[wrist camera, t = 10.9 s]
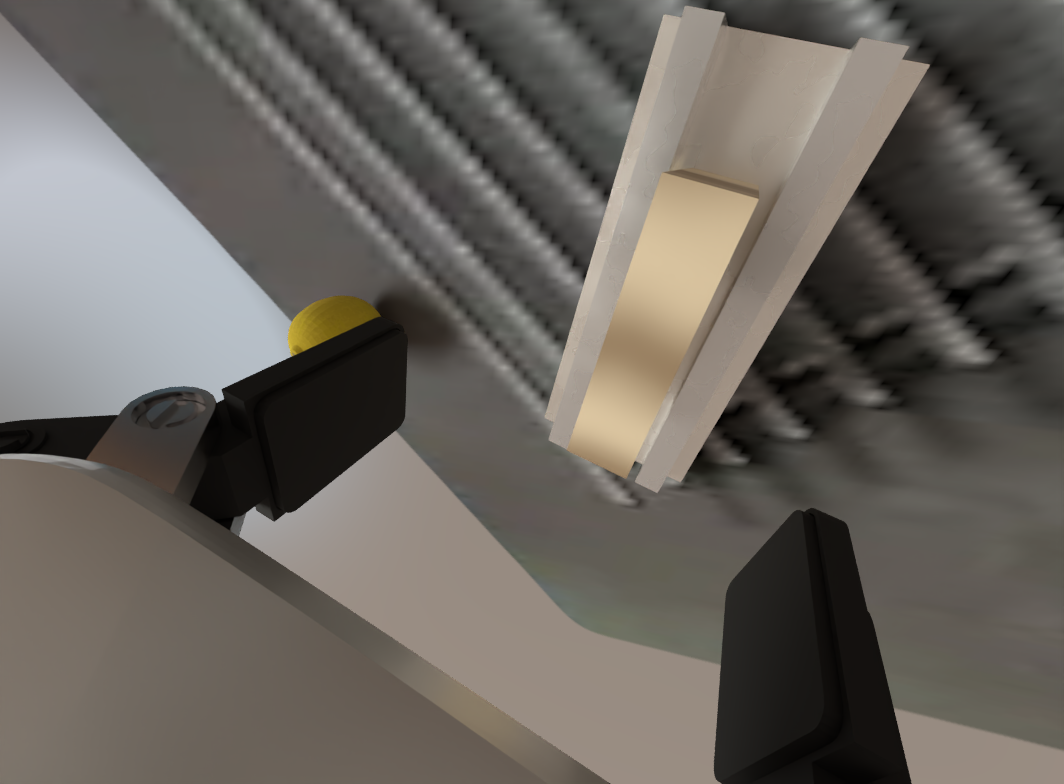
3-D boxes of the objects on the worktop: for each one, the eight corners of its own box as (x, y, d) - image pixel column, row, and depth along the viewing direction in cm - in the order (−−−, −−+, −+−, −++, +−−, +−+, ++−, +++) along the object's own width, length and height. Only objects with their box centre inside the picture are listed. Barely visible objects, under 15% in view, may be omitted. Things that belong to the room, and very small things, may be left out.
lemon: (411, 306, 32) (327, 343, 26) (400, 362, 35) (322, 406, 29) (356, 271, 33) (261, 298, 27) (349, 329, 36) (263, 365, 30)
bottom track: (668, 21, 19) (654, 0, 16) (919, 70, 16) (950, 53, 14) (551, 409, 31) (532, 432, 28) (683, 471, 28) (675, 501, 26)
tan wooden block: (692, 167, 20) (662, 172, 13) (758, 185, 19) (759, 198, 12) (612, 379, 26) (566, 450, 20) (658, 399, 25) (626, 478, 19)
